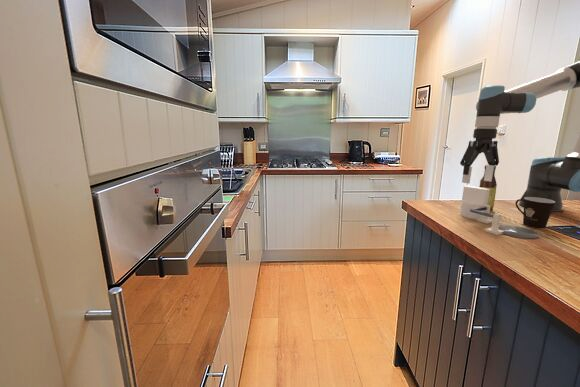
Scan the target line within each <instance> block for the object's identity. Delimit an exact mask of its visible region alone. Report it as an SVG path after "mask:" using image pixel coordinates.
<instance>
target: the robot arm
mask: <svg viewBox="0 0 580 387" xmlns="http://www.w3.org/2000/svg"><path fill="white" fill-rule="evenodd" d="M576 88H577V89H578V88H580V60H578V61H575V62H574V63H572V64H569V65H566V66H564V67H561V68H559V69H558V70H556V71H555V72H554V73H552V74H548V75H547V76H544V77H540V78H538V79H535V80H532V81H530V82H528V83H523V84H521V85H518V86H515V87H513V88H510V89H508V90H505V89H506V87H505V86H504V85H500V84H497V85H495V84H494V85H487V86H484V87H482V88H480V92H479V97H478V101H477V102H476V106H475V110H476V116H475V117H476V118H475V124H474V127H475V129H473V134H472V137H473V139H475V140H469V141H468V144H467V147H466V150H465V152H464V154H463V156H462V158H461V161H460V163H459V164H460V165H461V166H462V167H463V170H462V171H463V172H462V179H461V183H463V184H471V183H470V182H471V178H472V177H471V176H472V171H473V166H472V165H473V164H474V162H475V160H476V159H478V156H479V155H480V154H482V153H483V155H484V156H485V159H486V162H487V164H486V170H485V169H484V172H485V176H484V175H483V176H484V181H490V182H491V181H492V177H493V171H494V166H496V167H497V166H498V165H499V163H500V158H499V151H498V150H499V149H498V143H499V141H498V140H494V139H496V138H497V134H498V129H497V128H498V127H499V123H500V116H501V115H503V114H505V115H506V114H526V113H529V112H531V111H532V110H534V108H535V106H536V104H537V99H539V98H543V97H545V96H548V95H552V94H554V93H557V92H559V91H563V92H565V91H569V90H573V89H576ZM526 186H527V187H526V190H525V191H524V192H523V194H522V196H521V197H520V199H523V200H524V198H525V197H536V198H544V199H549V200H553V201H555V204H554V207H553V209H552V212H560V211H562V210H563V206H564V205H563V200H562V194H561V192H562V191H561V190H565V191H566V190H567V191H571V192H573V193H580V131H578V134H577V138H576V140H575V143H574V145H573V149H572V151H571V153H568V154H566V155H565V156H564V157H560V156H559V157H557V156H556V157H553V156H551V157H535V158H533V160H532V162H531V165H530V169H529V176H528V180H527V184H526ZM519 205H520V206H521V207H524V202H523V201H521V200H520V201H518V206H519Z"/></svg>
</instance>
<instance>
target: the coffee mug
mask: <svg viewBox="0 0 580 387" xmlns="http://www.w3.org/2000/svg"><path fill="white" fill-rule="evenodd" d="M520 200H521V201H523V202H524V206H523V210H522V209H521V208H520V207H519V202H520ZM554 204H555V201H553V200H549V199H544V198H536V197H525V198H524V200H523V199H521V198H519V199H517V200H515V208H517V210H518V211H519V212H520V213H521V214H522V218H523V219H522V224H523V226H524V227H526V228H527V227H528V228H532V229H537V230H539V229H540V230H543V229H546V227H547V225H548V222H549V219H550V217H551V214H552V212H553V211H552V209H553V207H554Z"/></svg>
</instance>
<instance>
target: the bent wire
mask: <svg viewBox="0 0 580 387" xmlns="http://www.w3.org/2000/svg"><path fill="white" fill-rule="evenodd" d="M482 210H487V207H479V208H472V209H470V212H473V213H476V214H480V215H484V216H487V217H489V218H492V219H493V216H494V214H495V213H486V212H482Z"/></svg>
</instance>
